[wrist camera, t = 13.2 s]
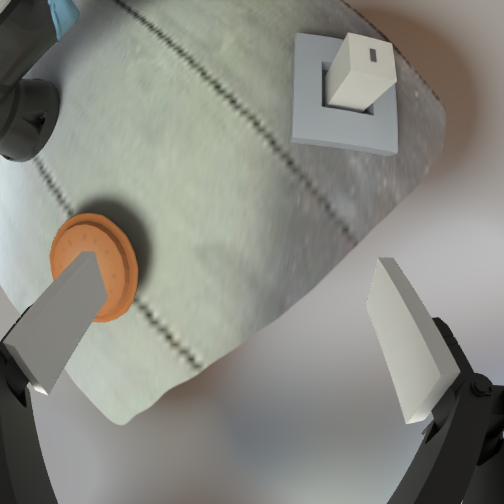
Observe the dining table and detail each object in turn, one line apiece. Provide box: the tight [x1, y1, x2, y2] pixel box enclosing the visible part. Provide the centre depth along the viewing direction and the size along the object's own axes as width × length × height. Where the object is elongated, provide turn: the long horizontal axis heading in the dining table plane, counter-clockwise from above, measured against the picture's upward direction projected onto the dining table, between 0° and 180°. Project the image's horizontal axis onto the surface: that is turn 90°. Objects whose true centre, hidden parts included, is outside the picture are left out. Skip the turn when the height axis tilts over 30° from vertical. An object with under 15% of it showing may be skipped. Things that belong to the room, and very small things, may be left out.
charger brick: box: [325, 33, 397, 113], centre depth 28 cm, size 5×5×12 cm
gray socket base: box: [290, 32, 398, 156], centre depth 33 cm, size 16×14×3 cm
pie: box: [50, 213, 139, 322], centre depth 36 cm, size 15×16×5 cm
